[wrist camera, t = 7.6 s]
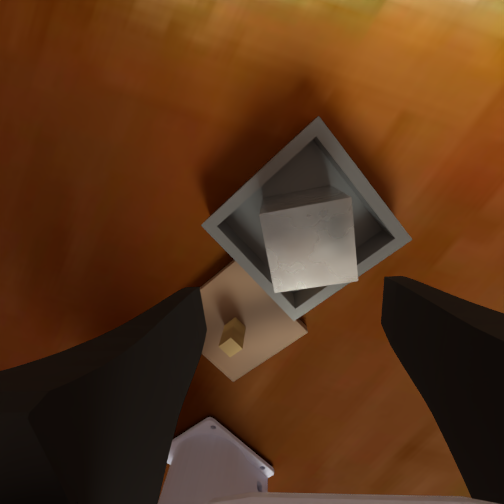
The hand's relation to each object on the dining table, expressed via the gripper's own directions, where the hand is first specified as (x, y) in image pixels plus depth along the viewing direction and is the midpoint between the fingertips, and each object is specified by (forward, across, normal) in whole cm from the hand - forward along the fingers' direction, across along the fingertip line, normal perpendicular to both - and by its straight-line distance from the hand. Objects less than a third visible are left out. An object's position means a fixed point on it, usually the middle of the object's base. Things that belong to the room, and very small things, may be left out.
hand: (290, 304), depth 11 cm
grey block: (+9, -1, -1) cm, 9 cm away
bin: (+9, -1, -1) cm, 9 cm away
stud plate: (+9, +4, +7) cm, 12 cm away
